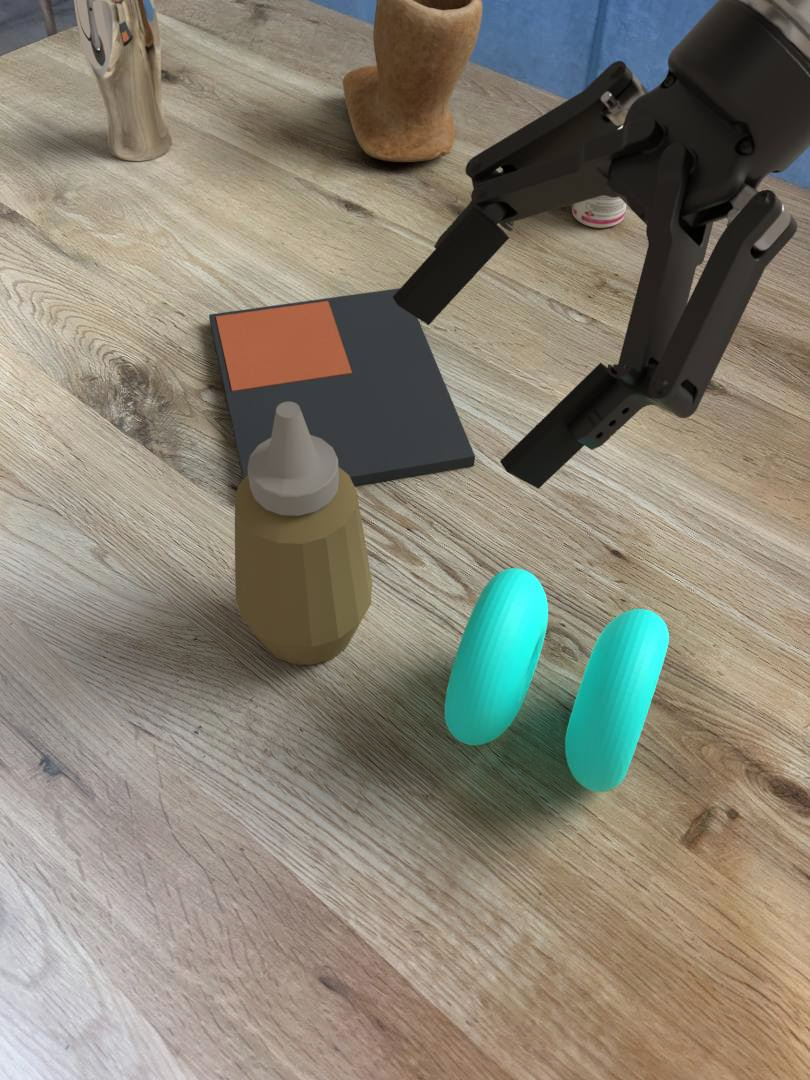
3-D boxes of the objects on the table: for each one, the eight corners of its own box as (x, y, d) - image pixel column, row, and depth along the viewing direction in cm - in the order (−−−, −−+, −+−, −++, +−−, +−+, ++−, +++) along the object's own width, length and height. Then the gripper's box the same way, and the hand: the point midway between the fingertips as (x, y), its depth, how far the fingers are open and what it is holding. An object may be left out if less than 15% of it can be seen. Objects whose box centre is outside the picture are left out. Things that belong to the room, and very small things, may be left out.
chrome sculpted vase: (170, 122, 104) (143, -39, 93) (183, 157, 100) (157, -7, 89) (99, 133, 103) (63, -30, 92) (109, 169, 99) (73, 3, 87)
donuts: (492, 632, 65) (507, 524, 57) (651, 686, 62) (689, 582, 55) (432, 766, 59) (440, 666, 51) (606, 832, 56) (641, 737, 49)
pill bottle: (635, 218, 95) (653, 129, 88) (597, 235, 93) (612, 146, 86) (598, 194, 97) (613, 106, 91) (560, 211, 95) (573, 122, 89)
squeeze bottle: (298, 556, 68) (277, 335, 55) (399, 615, 65) (404, 397, 52) (213, 639, 64) (168, 421, 50) (318, 706, 61) (300, 494, 47)
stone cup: (482, 168, 100) (495, 4, 88) (357, 175, 99) (354, 10, 87) (455, 91, 110) (464, -65, 98) (341, 97, 108) (337, -61, 97)
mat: (210, 324, 84) (208, 313, 83) (404, 297, 87) (405, 286, 86) (248, 504, 71) (246, 493, 70) (474, 466, 74) (475, 455, 73)
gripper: (1007, 240, 42) (617, 580, 50) (676, -7, 57) (414, 283, 65) (958, 140, 37) (528, 538, 44) (606, -104, 52) (329, 225, 59)
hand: (460, 387), depth 55 cm, fingers open, 13 cm apart
